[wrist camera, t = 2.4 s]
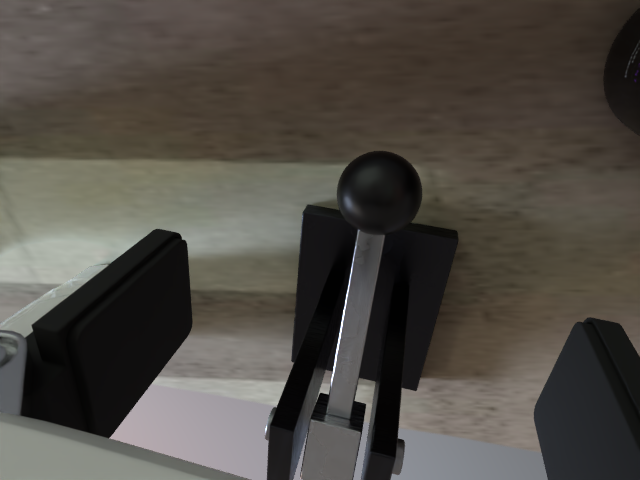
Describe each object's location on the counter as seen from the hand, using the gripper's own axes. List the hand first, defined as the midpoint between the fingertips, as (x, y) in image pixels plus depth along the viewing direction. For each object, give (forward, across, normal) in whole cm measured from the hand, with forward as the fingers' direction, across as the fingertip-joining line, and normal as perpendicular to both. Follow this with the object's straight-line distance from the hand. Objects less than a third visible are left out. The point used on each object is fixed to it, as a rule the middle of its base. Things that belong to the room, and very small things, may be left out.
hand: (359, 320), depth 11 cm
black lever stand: (+15, +1, +10) cm, 18 cm away
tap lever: (+8, 0, +5) cm, 9 cm away
